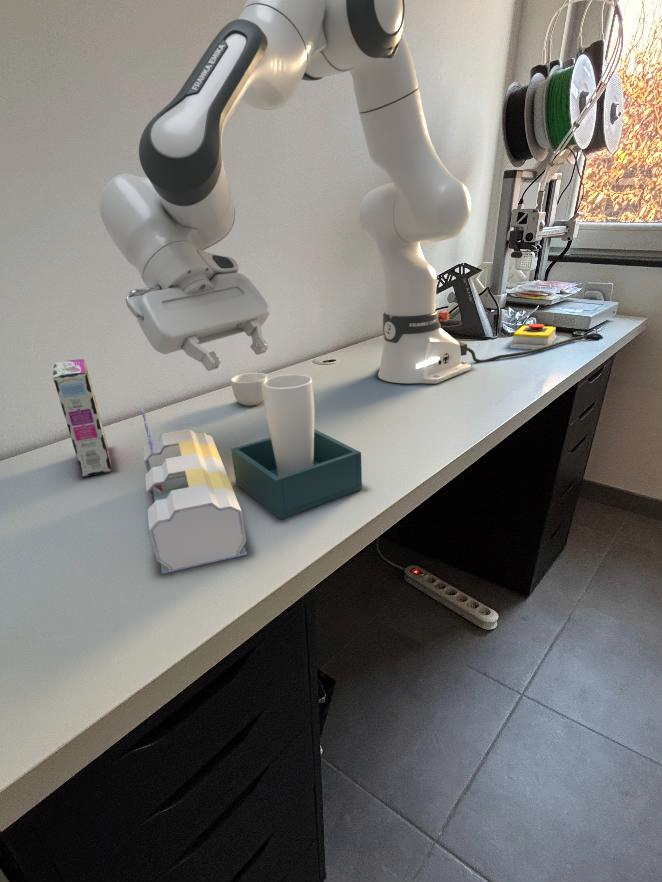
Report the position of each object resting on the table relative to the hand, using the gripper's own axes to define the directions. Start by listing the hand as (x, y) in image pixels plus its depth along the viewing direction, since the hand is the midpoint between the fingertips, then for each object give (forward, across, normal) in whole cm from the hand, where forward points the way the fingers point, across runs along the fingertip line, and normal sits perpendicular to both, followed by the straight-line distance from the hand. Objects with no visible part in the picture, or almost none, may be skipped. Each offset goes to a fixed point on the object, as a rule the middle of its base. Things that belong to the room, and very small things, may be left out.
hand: (240, 358), depth 74 cm
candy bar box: (-6, -12, +32) cm, 34 cm away
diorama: (+14, -14, +11) cm, 23 cm away
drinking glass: (+18, 0, +6) cm, 19 cm away
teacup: (-5, +26, +31) cm, 41 cm away
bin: (+19, 0, +6) cm, 20 cm away
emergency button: (+19, +100, +7) cm, 102 cm away
